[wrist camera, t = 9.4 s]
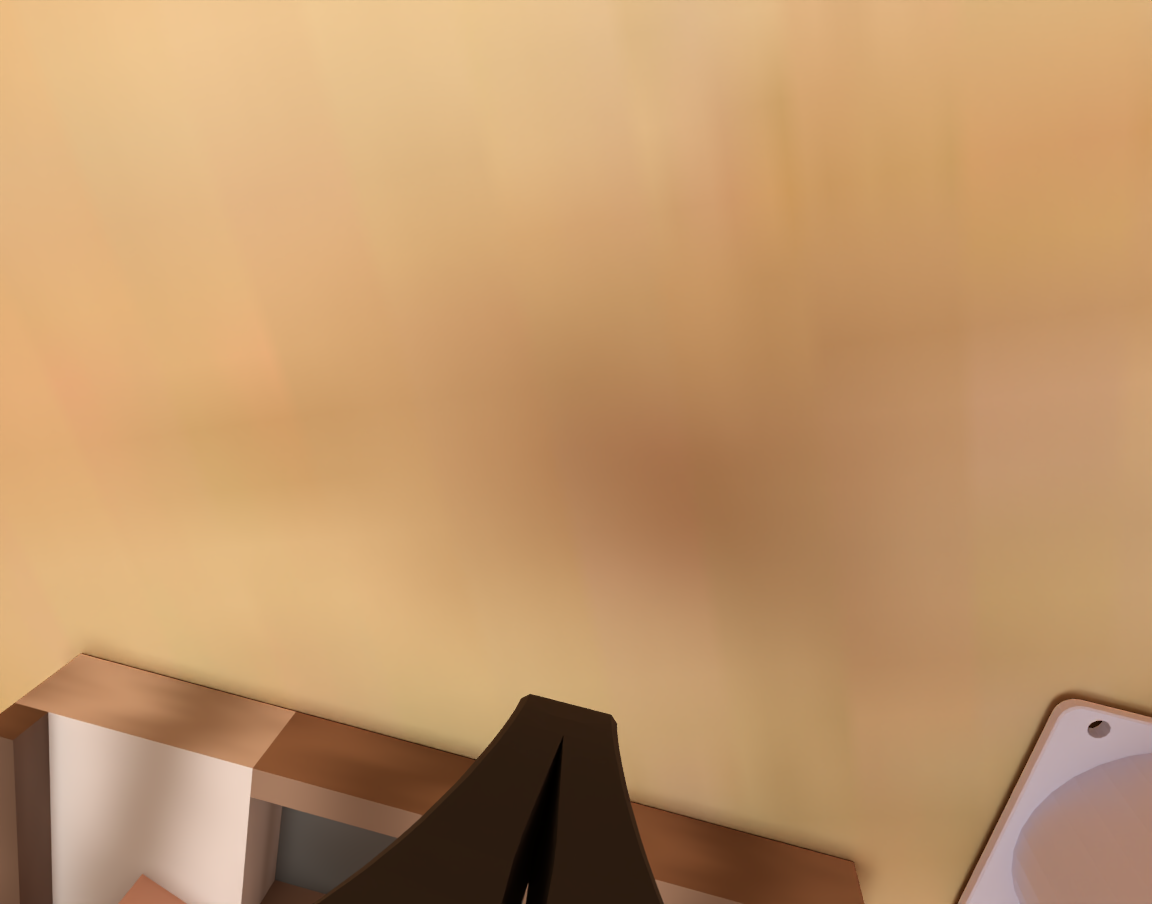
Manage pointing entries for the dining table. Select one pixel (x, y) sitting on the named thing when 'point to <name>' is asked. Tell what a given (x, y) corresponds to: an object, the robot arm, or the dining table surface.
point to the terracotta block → (149, 893)
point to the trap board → (275, 803)
